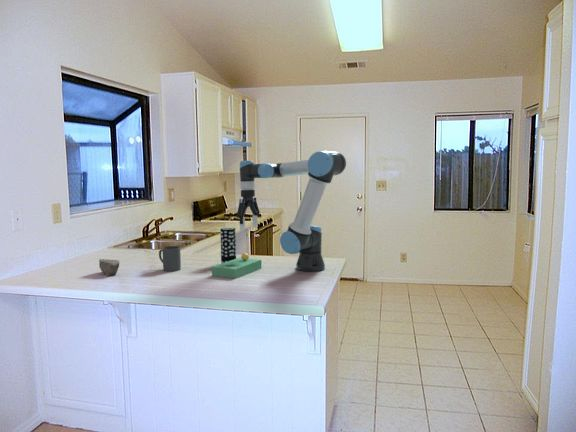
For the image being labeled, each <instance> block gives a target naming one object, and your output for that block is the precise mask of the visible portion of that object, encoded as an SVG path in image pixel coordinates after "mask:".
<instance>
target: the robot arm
mask: <svg viewBox="0 0 576 432" xmlns="http://www.w3.org/2000/svg"><path fill="white" fill-rule="evenodd" d="M346 166H347V160H346V158H345V155H343V154H342V153H340V152H339V151H329V150H318V151H316V152H314V153H312V154H311V155H310V156H309V158H308V159H304V160H303V159H302V160H294V161H287V162H286V161H285V162H280V163H279V162H278V163H268V162H267V163H266V162H263V163H254V161H253V160H240V162H239V177H240V179H239V180H240V185H239V186H240V197H242V198H239V204H238V207H237V208H238V209H237V213H236V218H238V219H239V221H238V222H239V230H240V231H246V222H245V221H246V220H245V219H246V217H245V214H246V212H247V210H248V208H249V209H250V210H251V212H252V227H253V228H258V227H259V225H258V216H260V209H259V205H258V203H257V197H255V195H256V193H255V192H256V190H255V188H256V187H255V186H256V185H255V179H269V178H273V179H275V178H278V179H279V178H284V177H295V176H302V175H307V176H308V178H309V180H308V182H307V185H306V187H305V189H304V193H303V196H302V199H301V201H300V205H299V206H298V209H297V211H296V214H295V217H294V219H293V222H290V223H289V225H288V228H287V230H286V231H284V232H282V233H281V235H280V238H279V243H280V245H281V249H282V250H283V251H284V252H285V253H287V254H289V255H294V254H295V255H296V254H298V258H297V260H296V265H295V266H296V267H295V268H296V269H297V271H301V272H318V271H319V272H320V271H324V270H325V268H326V264H325V261H324V258H323V255H322V234H323V232H322V228H321V226H318V225H312V223H313V220H314V218H315V215H316V212H317V210H318V207H319V204H320V202H321V200H322V197H323V195H324V191H325V190H326V187H327V185H329V184H331V183H332V180H333V177H334V176H338V175H340V174H342V173H343V172H344V170H345V169H346Z"/></svg>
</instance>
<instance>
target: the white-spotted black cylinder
mask: <svg viewBox="0 0 576 432" xmlns="http://www.w3.org/2000/svg"><path fill="white" fill-rule="evenodd" d="M219 231H220V259H221V260H220V264H222V263H225V262H228V261H231V260H234V259H237V244H236V243H237V241H236V239H237V236H236V235H237V234H236V232H237V231H236V228H235V227H223V228H220V230H219Z"/></svg>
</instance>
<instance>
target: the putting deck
mask: <svg viewBox="0 0 576 432" xmlns="http://www.w3.org/2000/svg"><path fill="white" fill-rule="evenodd" d="M260 269H262V259H257V258H256V259H255V258H248V260H246V261H244V260H242V258H241V257H236V259H234V260H231V261H228V262H225V263H222V264H221V263H218V264H216V265H213V266H211V276H212V277H218V276H219V277H220V278H226V277H227V278H228V279H235V278H236V279H238V278H241V277H244V276H246V275H249V274H251V273H252V272H255V271H258V270H260ZM245 274H246V275H245ZM240 276H241V277H240Z"/></svg>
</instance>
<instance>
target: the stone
mask: <svg viewBox="0 0 576 432" xmlns="http://www.w3.org/2000/svg"><path fill="white" fill-rule="evenodd" d="M98 262H99V269H100V271H101V273H104V274H105V276H106V277H112V276H116V275H117V273H118V270H119V267H120V260H118V259H107V258H106V259H103V258H102V259H101V258H99V260H98Z"/></svg>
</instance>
